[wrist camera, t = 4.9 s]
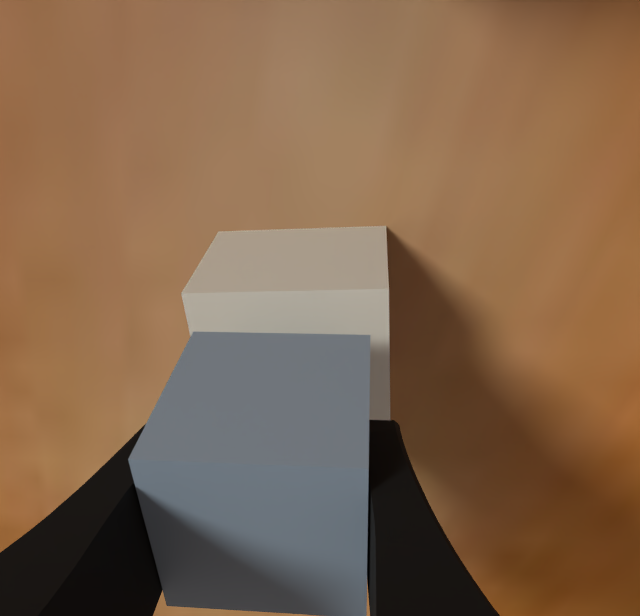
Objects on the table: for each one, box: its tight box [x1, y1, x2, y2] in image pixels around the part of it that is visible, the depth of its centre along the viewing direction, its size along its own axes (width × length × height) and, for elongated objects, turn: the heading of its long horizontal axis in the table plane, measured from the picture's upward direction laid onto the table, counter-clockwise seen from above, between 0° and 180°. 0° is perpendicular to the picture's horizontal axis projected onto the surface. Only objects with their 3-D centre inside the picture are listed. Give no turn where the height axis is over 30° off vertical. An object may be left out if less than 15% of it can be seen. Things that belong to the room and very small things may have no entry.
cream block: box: [181, 226, 390, 420], centre depth 17 cm, size 5×5×4 cm
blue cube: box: [128, 332, 370, 616], centre depth 12 cm, size 4×4×4 cm
